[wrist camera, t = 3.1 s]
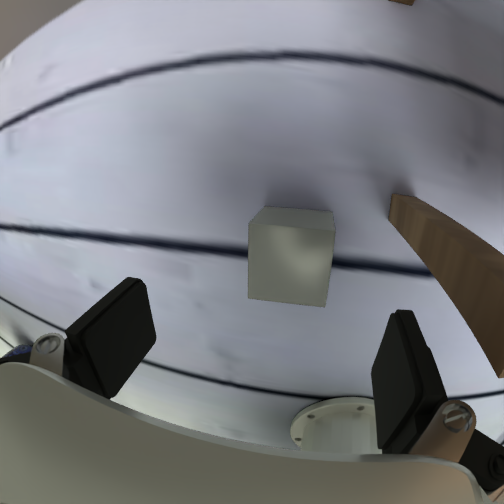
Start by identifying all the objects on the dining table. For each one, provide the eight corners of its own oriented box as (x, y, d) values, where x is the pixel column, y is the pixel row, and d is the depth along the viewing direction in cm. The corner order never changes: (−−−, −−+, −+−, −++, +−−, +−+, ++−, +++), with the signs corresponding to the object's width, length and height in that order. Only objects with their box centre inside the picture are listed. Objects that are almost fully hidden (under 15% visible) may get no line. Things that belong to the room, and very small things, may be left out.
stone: (332, 211, 20) (335, 230, 15) (325, 273, 22) (325, 307, 17) (264, 205, 21) (248, 223, 16) (262, 267, 23) (247, 298, 18)
